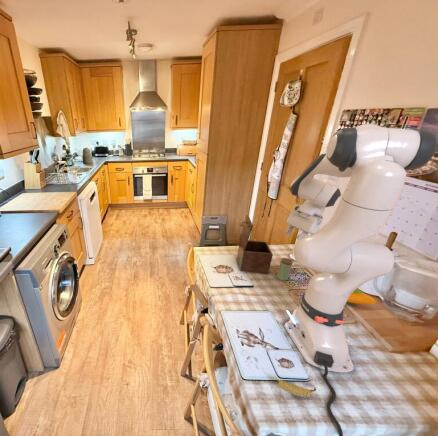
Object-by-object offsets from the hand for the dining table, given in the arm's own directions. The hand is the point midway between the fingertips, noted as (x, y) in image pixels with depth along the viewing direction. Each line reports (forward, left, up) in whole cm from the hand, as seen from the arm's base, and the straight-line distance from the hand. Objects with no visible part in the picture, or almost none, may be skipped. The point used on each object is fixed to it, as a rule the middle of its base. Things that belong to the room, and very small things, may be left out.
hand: (292, 236), depth 112 cm
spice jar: (-6, +2, -20) cm, 21 cm away
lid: (+2, +21, -1) cm, 21 cm away
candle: (+14, -11, -20) cm, 27 cm away
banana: (-62, +15, -20) cm, 67 cm away
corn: (-18, -19, -20) cm, 33 cm away
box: (+2, +15, -20) cm, 25 cm away
